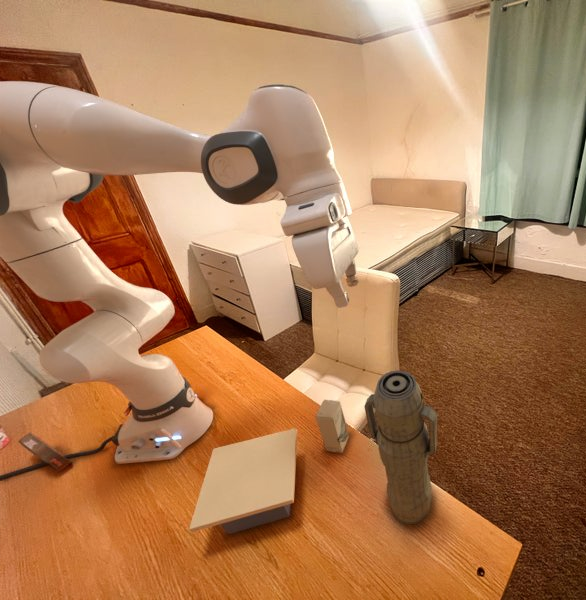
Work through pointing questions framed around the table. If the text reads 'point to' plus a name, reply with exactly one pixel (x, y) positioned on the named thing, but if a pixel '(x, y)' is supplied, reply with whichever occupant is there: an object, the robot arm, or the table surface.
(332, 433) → the box
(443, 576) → the table surface
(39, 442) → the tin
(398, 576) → the table surface
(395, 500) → the thermos
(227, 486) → the stand
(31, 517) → the table surface
